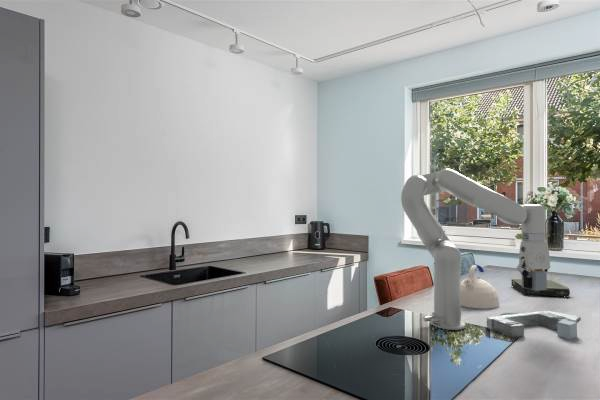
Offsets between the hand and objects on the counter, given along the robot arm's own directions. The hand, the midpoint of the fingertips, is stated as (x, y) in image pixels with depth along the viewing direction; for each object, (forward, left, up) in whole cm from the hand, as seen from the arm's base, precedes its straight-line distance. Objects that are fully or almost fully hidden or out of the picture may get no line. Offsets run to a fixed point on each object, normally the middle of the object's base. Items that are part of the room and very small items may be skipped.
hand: (534, 287), depth 142 cm
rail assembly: (0, +2, -16) cm, 16 cm away
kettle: (+8, +39, -16) cm, 43 cm away
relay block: (+6, -8, -16) cm, 19 cm away
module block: (0, 0, -1) cm, 1 cm away
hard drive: (+24, +10, -17) cm, 31 cm away
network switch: (+56, +47, -17) cm, 75 cm away
